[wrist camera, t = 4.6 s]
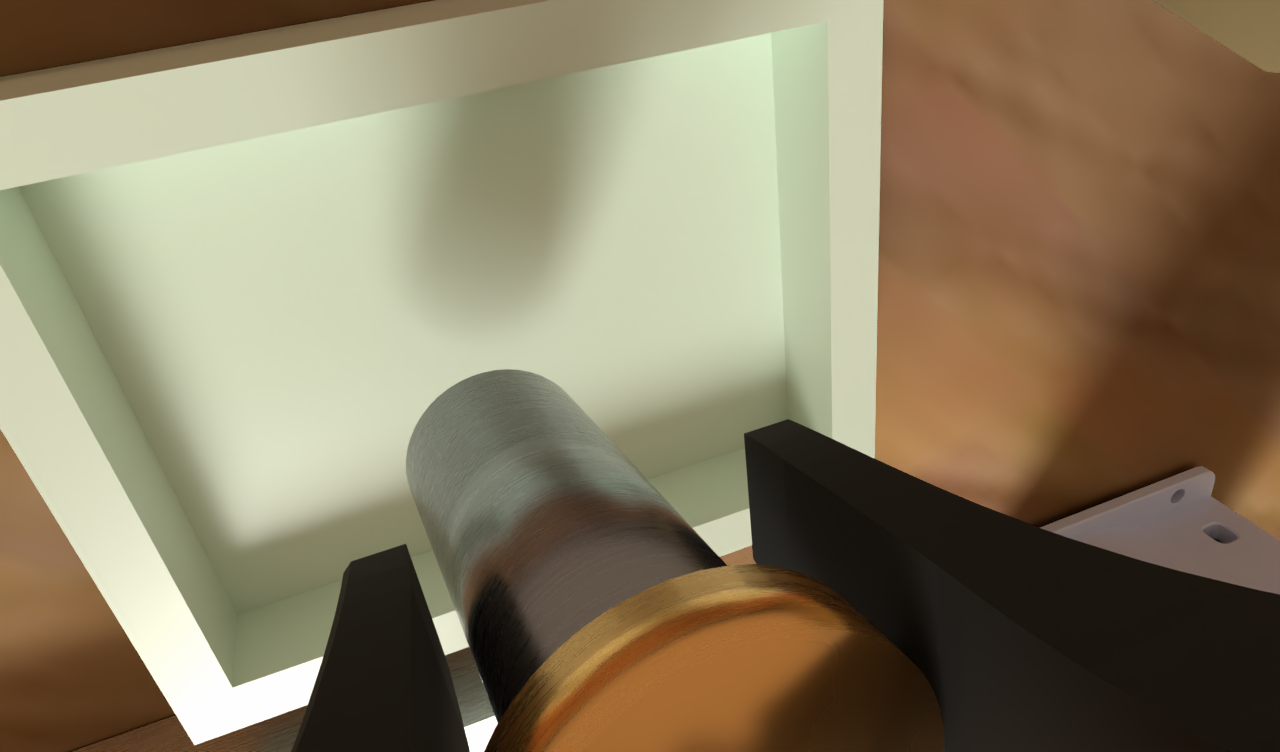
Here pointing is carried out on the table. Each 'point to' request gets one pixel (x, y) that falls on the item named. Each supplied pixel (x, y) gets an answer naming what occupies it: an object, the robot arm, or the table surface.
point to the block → (269, 742)
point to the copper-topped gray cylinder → (634, 600)
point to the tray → (417, 287)
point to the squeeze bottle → (1236, 26)
